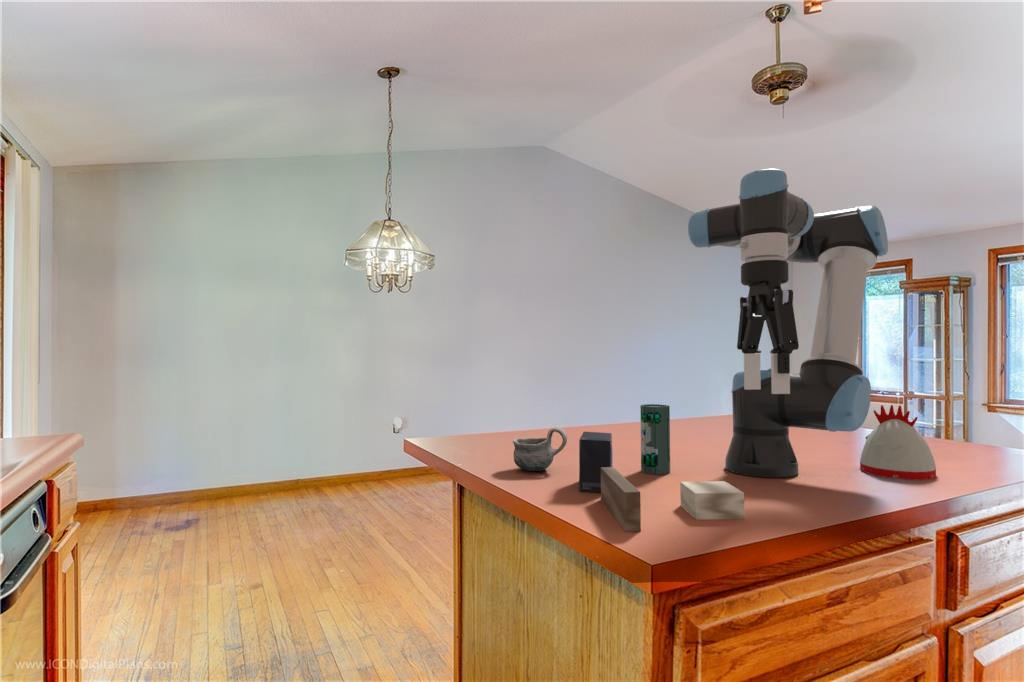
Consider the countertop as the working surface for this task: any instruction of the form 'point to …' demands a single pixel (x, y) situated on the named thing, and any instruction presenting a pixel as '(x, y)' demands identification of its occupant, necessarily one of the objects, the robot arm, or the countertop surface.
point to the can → (655, 439)
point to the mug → (537, 451)
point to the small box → (593, 459)
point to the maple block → (712, 500)
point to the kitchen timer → (897, 449)
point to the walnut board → (621, 499)
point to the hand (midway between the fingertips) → (765, 391)
